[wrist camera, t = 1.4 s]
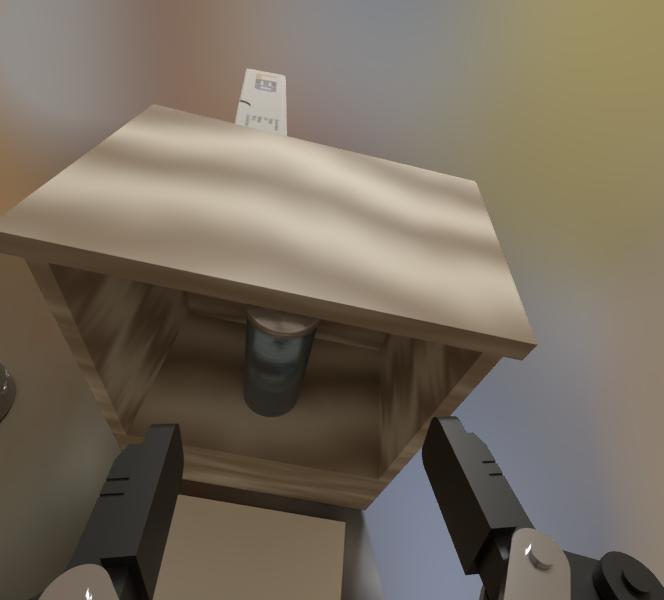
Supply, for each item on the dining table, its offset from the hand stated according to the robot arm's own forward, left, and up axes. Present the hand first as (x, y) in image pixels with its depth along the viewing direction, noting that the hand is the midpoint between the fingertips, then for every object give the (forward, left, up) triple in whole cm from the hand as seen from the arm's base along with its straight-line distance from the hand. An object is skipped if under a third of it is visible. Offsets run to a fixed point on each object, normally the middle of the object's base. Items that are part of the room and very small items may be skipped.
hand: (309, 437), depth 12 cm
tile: (-2, +1, -27) cm, 27 cm away
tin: (+6, +11, -19) cm, 22 cm away
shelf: (+7, +12, -27) cm, 30 cm away
